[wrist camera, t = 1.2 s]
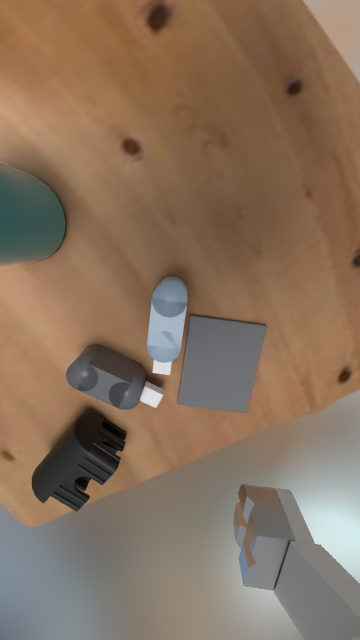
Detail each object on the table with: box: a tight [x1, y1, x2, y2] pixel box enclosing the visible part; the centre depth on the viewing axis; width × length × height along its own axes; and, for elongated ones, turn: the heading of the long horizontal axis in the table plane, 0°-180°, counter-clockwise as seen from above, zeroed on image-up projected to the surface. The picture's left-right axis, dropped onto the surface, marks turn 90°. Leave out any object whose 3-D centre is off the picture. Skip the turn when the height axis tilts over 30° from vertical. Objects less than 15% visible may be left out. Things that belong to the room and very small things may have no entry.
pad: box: [178, 315, 267, 413], centre depth 33 cm, size 12×9×1 cm
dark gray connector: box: [66, 344, 164, 410], centre depth 32 cm, size 11×4×5 cm, turn 63°
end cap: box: [32, 414, 126, 511], centre depth 34 cm, size 10×7×7 cm
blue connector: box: [147, 276, 187, 375], centre depth 30 cm, size 11×4×5 cm, turn 173°
